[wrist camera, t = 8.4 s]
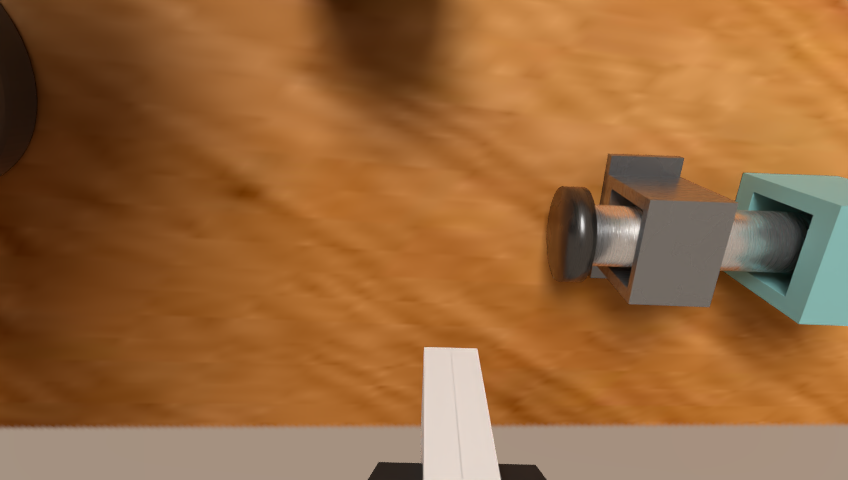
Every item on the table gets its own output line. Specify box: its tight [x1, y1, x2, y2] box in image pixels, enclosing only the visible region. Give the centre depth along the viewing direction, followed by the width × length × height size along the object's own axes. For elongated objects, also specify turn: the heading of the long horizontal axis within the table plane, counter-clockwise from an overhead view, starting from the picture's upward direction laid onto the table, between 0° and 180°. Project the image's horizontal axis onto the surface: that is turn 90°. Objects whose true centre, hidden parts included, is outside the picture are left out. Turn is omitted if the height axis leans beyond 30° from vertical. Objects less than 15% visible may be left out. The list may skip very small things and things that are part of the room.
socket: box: [724, 173, 848, 326], centre depth 27 cm, size 6×7×8 cm
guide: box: [588, 154, 739, 307], centre depth 28 cm, size 4×8×7 cm, turn 178°
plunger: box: [547, 186, 813, 282], centre depth 27 cm, size 17×6×6 cm, turn 88°
